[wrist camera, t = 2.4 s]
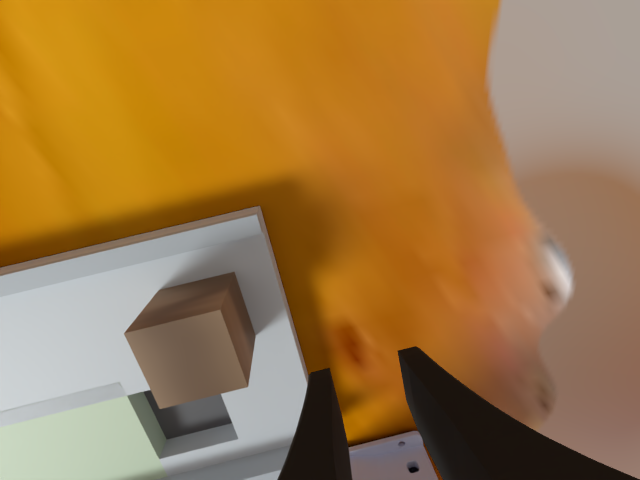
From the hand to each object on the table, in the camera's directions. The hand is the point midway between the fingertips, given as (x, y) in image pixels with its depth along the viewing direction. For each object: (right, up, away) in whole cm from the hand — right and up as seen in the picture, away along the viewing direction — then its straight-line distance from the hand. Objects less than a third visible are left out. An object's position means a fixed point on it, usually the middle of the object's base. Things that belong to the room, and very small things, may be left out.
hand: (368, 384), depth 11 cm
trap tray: (-15, -4, +10) cm, 18 cm away
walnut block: (-8, +1, +7) cm, 10 cm away
